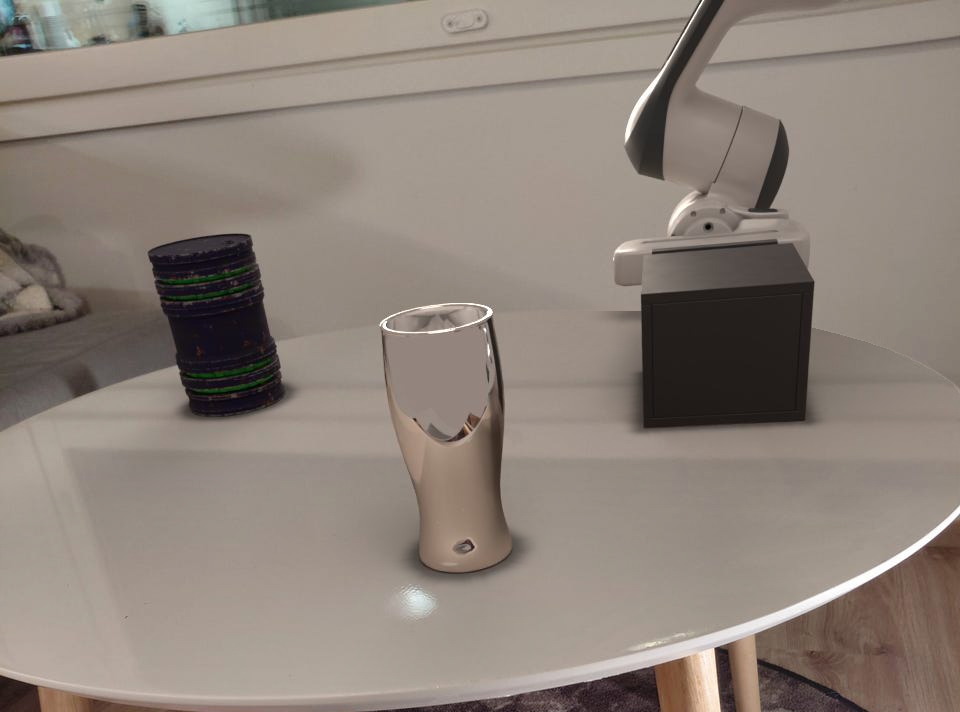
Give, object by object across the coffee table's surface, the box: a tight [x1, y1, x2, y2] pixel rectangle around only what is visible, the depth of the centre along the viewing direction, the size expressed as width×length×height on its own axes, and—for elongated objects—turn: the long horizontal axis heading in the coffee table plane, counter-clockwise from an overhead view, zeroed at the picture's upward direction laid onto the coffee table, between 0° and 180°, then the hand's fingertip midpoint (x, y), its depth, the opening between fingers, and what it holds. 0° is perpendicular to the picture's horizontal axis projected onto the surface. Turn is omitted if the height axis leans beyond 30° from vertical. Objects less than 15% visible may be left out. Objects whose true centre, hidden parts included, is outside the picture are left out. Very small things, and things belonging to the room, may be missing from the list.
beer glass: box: [379, 302, 513, 574], centre depth 60 cm, size 7×7×15 cm
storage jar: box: [147, 232, 286, 418], centre depth 95 cm, size 10×10×15 cm
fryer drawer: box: [652, 239, 778, 254], centre depth 90 cm, size 18×11×9 cm, turn 171°
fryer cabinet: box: [640, 243, 816, 429], centre depth 81 cm, size 15×13×11 cm
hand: (712, 272), depth 98 cm, fingers closed
